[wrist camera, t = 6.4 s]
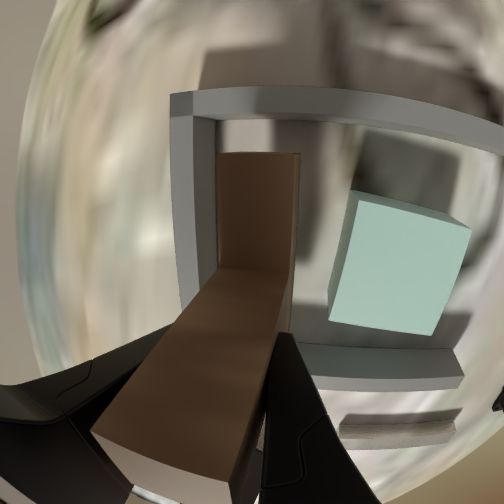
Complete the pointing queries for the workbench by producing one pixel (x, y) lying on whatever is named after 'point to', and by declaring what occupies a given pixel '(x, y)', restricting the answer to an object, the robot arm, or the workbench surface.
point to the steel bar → (395, 435)
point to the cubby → (315, 109)
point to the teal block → (394, 264)
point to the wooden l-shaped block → (215, 348)
